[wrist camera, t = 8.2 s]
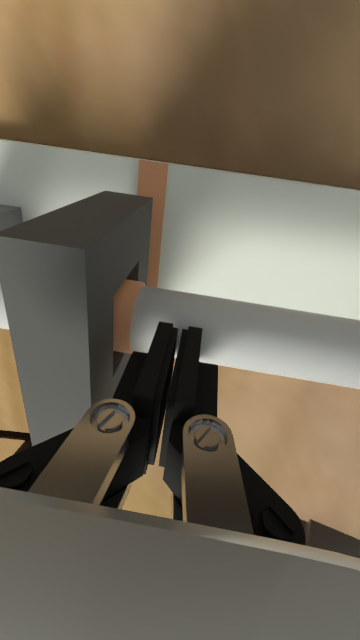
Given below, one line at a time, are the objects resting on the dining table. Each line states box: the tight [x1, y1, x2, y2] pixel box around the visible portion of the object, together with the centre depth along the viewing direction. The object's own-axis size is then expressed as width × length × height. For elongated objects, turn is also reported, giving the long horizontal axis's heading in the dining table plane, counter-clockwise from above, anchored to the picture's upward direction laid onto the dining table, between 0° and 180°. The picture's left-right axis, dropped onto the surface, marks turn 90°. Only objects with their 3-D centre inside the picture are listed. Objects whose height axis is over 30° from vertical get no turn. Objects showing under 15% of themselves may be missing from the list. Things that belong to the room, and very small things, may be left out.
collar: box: [0, 191, 153, 446], centre depth 14 cm, size 2×9×9 cm, turn 173°
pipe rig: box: [0, 139, 360, 389], centre depth 16 cm, size 30×12×9 cm, turn 83°
